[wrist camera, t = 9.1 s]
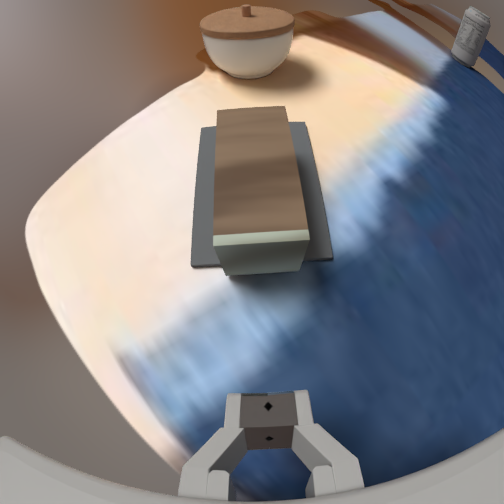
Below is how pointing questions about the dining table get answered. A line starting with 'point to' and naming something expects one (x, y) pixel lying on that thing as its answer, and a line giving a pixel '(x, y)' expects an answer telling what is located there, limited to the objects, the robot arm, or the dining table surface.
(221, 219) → the walnut block
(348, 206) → the dining table surface
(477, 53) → the energy drink can
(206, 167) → the felt mat
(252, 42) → the lidded jar
